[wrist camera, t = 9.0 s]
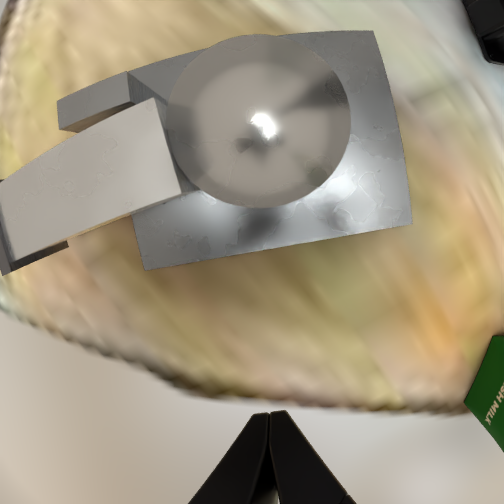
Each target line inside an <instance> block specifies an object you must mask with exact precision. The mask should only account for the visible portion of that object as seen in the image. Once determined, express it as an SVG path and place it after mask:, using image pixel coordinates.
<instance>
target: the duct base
mask: <svg viewBox="0 0 504 504" xmlns="http://www.w3.org/2000/svg"><path fill="white" fill-rule="evenodd" d="M279 37H283V38H286V39H290V40H292V41H295V42H297V43H300V44H302V45H304V46H305V47H307V48H309V49H311V50H312V51H313V52H315V53H316V54H317V55H319V56H320V57H321V58H322V59H323V60H324V61H325V62H326V63H327V64H328V65H329V66H330V67H331V68H332V69H333V71H334V72H335V73H336V75H337V76H338V78H339V80H340V81H341V83H342V85H343V87H344V90H345V92H346V95H347V98H348V102H349V106H350V113H351V130H350V137H349V142H348V145H347V148H346V151H345V153H344V156H343V158H342V160H341V162H340V163H339V165H338V167H337V168H336V170H335V171H334V172H333V174H332V175H331V176H330V177H329V178H328V179H327V181H325V182H324V183H323V184H322V185H321V186H320V187H319V188H317V189H316V190H315V191H313V192H312V193H310V194H309V195H307V196H305V197H303V198H301V199H299V200H297V201H294V202H291V203H289V204H286V205H281V206H277V207H270V208H247V207H241V206H235V205H232V204H229V203H225V202H223V201H221V200H218V199H216V198H214V197H212V196H210V195H209V194H207V193H206V192H204V191H202V190H200V191H197V192H194V193H191V194H188V195H185V196H182V197H179V198H176V199H173V200H171V201H168V202H165V203H162V204H159V205H156V206H154V207H151V208H148V209H145V210H143V211H140V212H137V213H134V214H132V215H131V216H132V220H133V225H134V229H135V234H136V238H137V242H138V246H139V250H140V254H141V258H142V262H143V266H144V270H145V271H146V270H152V269H157V268H163V267H169V266H175V265H180V264H186V263H192V262H197V261H203V260H209V259H215V258H220V257H226V256H232V255H238V254H243V253H249V252H255V251H261V250H266V249H272V248H278V247H283V246H289V245H295V244H301V243H306V242H312V241H318V240H324V239H329V238H335V237H341V236H346V235H352V234H358V233H364V232H369V231H375V230H381V229H387V228H392V227H398V226H404V225H410V224H413V223H412V212H411V203H410V194H409V186H408V178H407V171H406V165H405V158H404V152H403V146H402V141H401V136H400V130H399V125H398V121H397V116H396V111H395V107H394V103H393V98H392V94H391V90H390V86H389V82H388V79H387V75H386V71H385V68H384V64H383V61H382V57H381V54H380V51H379V48H378V44H377V41H376V38H375V35H374V32H373V31H326V32H310V33H298V34H289V35H280V36H279ZM207 49H208V48H207ZM205 50H206V49H202V50H198V51H194V52H190V53H186V54H183V55H179V56H175V57H172V58H168V59H165V60H162V61H159V62H155V63H152V64H149V65H146V66H143V67H140V68H137V69H134V70H131V71H129V72H127V71H125V72H123V73H120V74H117V75H115V76H112V77H110V78H107V79H105V80H102V81H100V82H97V83H95V84H93V85H90V86H88V87H86V88H83V89H81V90H79V91H77V92H75V93H73V94H70V95H68V96H66V97H64V98H62V99H60V100H58V101H57V111H58V123H59V130H65V131H70V132H76V133H80V132H82V131H83V130H85V129H87V128H89V127H91V126H93V125H95V124H97V123H99V122H101V121H103V120H105V119H107V118H109V117H111V116H113V115H115V114H117V113H119V112H121V111H124V110H126V109H128V108H130V107H132V106H135V105H137V104H139V103H141V102H144V101H146V100H148V99H151V98H153V97H154V98H156V99H157V100H158V101H160V102H161V103H163V104H164V105H166V106H168V101H169V98H170V95H171V92H172V89H173V87H174V85H175V83H176V81H177V79H178V78H179V76H180V75H181V73H182V72H183V70H184V69H185V68H186V67H187V66H188V65H189V63H190V62H191V61H192V60H193V59H195V58H196V57H197V56H198V55H199V54H200V53H202V52H203V51H205Z"/></svg>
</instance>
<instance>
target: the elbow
mask: <svg viewBox="0 0 504 504" xmlns="http://www.w3.org/2000/svg"><path fill="white" fill-rule="evenodd" d="M350 130H351V113H350V106H349V102H348V98H347V95H346V92H345V90H344V87H343V85H342V83H341V81H340V80H339V78H338V76H337V75H336V73H335V72H334V71H333V69H332V68H331V67H330V66H329V65H328V64H327V63H326V62H325V61H324V60H323V59H322V58H321V57H320V56H319V55H317V54H316V53H315V52H313V51H312V50H311V49H309V48H307V47H305V46H304V45H302V44H300V43H297V42H295V41H292V40H290V39H286V38H283V37H279V36H273V35H263V34H253V35H243V36H238V37H234V38H230V39H227V40H224V41H222V42H219V43H217V44H215V45H213V46H211V47H209V48H208V49H206V50H205V51H203V52H202V53H200V54H199V55H198V56H197V57H196V58H195V59H193V60H192V61H191V62H190V63H189V65H188V66H187V67H186V68H185V69H184V70H183V72H182V73H181V75H180V76H179V78H178V79H177V81H176V83H175V85H174V87H173V89H172V92H171V95H170V98H169V101H168V106H166V105H164V104H163V103H161V102H160V101H158V100H157V99H156V98H154V97H153V98H151V99H148V100H146V101H144V102H141V103H139V104H137V105H135V106H132V107H130V108H128V109H126V110H124V111H121V112H119V113H117V114H115V115H113V116H111V117H109V118H107V119H105V120H103V121H101V122H99V123H97V124H95V125H93V126H91V127H89V128H87V129H85V130H83V131H82V132H80V133H78V134H76V135H74V136H73V137H71V138H69V139H67V140H65V141H64V142H62V143H60V144H59V145H57V146H55V147H54V148H52V149H50V150H49V151H47V152H45V153H44V154H42V155H40V156H39V157H37V158H36V159H34V160H33V161H31V162H30V163H28V164H27V165H25V166H24V167H22V168H21V169H19V170H18V171H16V172H15V173H13V174H12V175H10V176H9V177H8V178H6V179H3V180H0V270H1V273H2V276H4V275H6V274H8V273H10V272H12V271H15V270H17V269H19V268H21V267H24V266H26V265H28V264H30V263H33V262H35V261H37V260H39V259H42V258H44V257H46V256H49V255H51V254H53V253H56V252H58V251H60V250H63V249H65V248H68V247H69V246H68V243H67V240H69V239H71V238H74V237H76V236H78V235H81V234H83V233H86V232H88V231H91V230H93V229H96V228H98V227H101V226H103V225H106V224H108V223H111V222H113V221H116V220H119V219H121V218H124V217H126V216H129V215H132V214H134V213H137V212H140V211H143V210H145V209H148V208H151V207H154V206H156V205H159V204H162V203H165V202H168V201H171V200H173V199H176V198H179V197H182V196H185V195H188V194H191V193H194V192H197V191H200V190H202V191H204V192H206V193H207V194H209V195H210V196H212V197H214V198H216V199H218V200H221V201H223V202H225V203H229V204H232V205H235V206H241V207H247V208H270V207H277V206H281V205H286V204H289V203H291V202H294V201H297V200H299V199H301V198H303V197H305V196H307V195H309V194H310V193H312V192H313V191H315V190H316V189H317V188H319V187H320V186H321V185H322V184H323V183H324V182H325V181H327V179H328V178H329V177H330V176H331V175H332V174H333V172H334V171H335V170H336V168H337V167H338V165H339V163H340V162H341V160H342V158H343V156H344V153H345V151H346V148H347V145H348V142H349V137H350Z"/></svg>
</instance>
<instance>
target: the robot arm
mask: <svg viewBox="0 0 504 504" xmlns="http://www.w3.org/2000/svg"><path fill="white" fill-rule="evenodd" d="M463 3H464V5H465V7H466V9H467V11H468V14H469V16H470V18H471V21H472V23H473V26H474V28H475V31H476V33H477V36H478V39H479V41H480V44H481V47H482V50H483V53H484V56H485V58H486V59H487V61H489V62H490V63H495V64H500V65H504V0H463ZM490 56H491V57H490ZM278 497H279V502H280V504H356V502H355V501H354V500H353V499H352V497H351V496H350V495H347V492H346V490H345V489H344V488H343V486H342V485H341V484H340V483H339V481H338V480H337V479H336V477H335V476H334V475H333V473H332V472H331V471H330V470H329V468H328V467H327V466H326V464H325V463H324V462H323V460H322V459H321V458H320V456H319V455H318V454H317V452H316V451H315V450H314V448H313V447H312V446H311V444H310V443H309V442H308V440H307V439H306V437H305V436H304V435H303V433H302V432H301V430H300V429H299V428H298V426H297V425H296V423H295V422H294V421H293V419H292V418H291V416H290V415H289V414H288V412H287V411H286V410H281V411H274V412H271V413H270V414H269V413H267V412H266V413H257V414H253V415H252V416H251V418H250V420H249V421H248V422H247V424H246V425H245V427H244V428H243V430H242V431H241V433H240V434H239V435H238V437H237V438H236V440H235V441H234V443H233V444H232V446H231V447H230V448H229V450H228V451H227V453H226V454H225V455H224V457H223V458H222V460H221V461H220V462H219V464H218V465H217V466H216V468H215V469H214V471H213V472H212V473H211V474H210V476H209V477H208V479H207V480H206V481H205V483H204V484H203V485H202V486H201V488H200V489H199V490H198V492H197V493H196V494H195V496H194V497H193V498H192V499H191V501H190V502H189V503H188V504H278Z"/></svg>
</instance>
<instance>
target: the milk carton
mask: <svg viewBox="0 0 504 504" xmlns="http://www.w3.org/2000/svg"><path fill="white" fill-rule="evenodd" d="M464 404H465V405H466V406H467V407H468V408H469V409H470V411H471V412H472V413H473V414H474V415H475V416H476V418H477V419H478V420H479V421H480V422H481V424H482V425H483V426H484V427H485V428H486V430H487V431H488V432H489V433H490V434H491V436H492V437H493V438H494V439H495V441H496V442H497V444H498V445H499V446H500V448H501V449H502V451H503V452H504V336H493V337H492V340H491V343H490V345H489V348H488V350H487V353H486V355H485V358H484V360H483V363H482V365H481V367H480V370H479V372H478V374H477V376H476V379H475V381H474V383H473V385H472V387H471V389H470V391H469V393H468V396H467V398H466V400H465V401H464Z"/></svg>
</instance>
